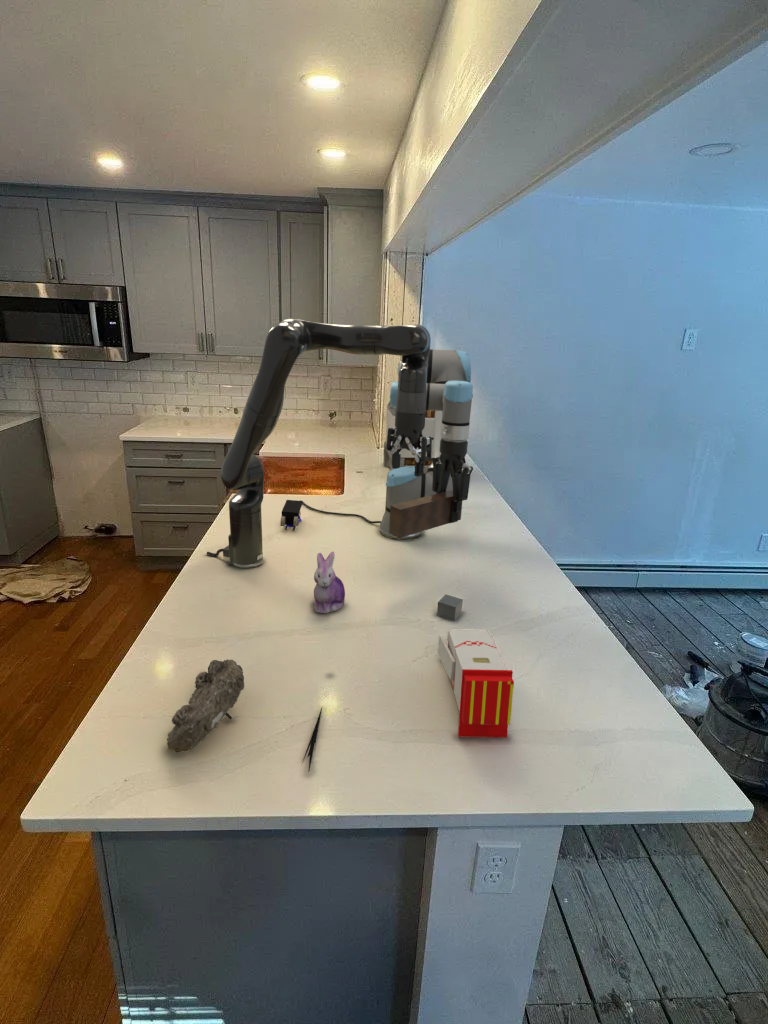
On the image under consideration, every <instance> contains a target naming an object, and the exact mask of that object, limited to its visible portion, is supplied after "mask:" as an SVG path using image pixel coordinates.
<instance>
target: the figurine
mask: <svg viewBox="0 0 768 1024" xmlns="http://www.w3.org/2000/svg"><path fill="white" fill-rule="evenodd" d="M335 554H336V553H335V552H334V551H331V552H330V553H329V554H328V555H327V556H326V558H325V557H324V555H323V554H322V553H321V552H318V553H317V555H316V563H317V565H316V566H317V568H316V569H315V571H314V575H313V580H314V582H315V585H314V588H313V598H314V601H313V606H314V612H316V613H322V614H329V613H332V612H336V611H338V610H340V609H341V608H342V607H344V604H345V598H346V589H345V585H344V583H343V581H342V580H341V578H340V577H339V576H336V572H335V569H334V568H333V564H334V561H335Z"/></svg>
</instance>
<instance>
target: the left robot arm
mask: <svg viewBox="0 0 768 1024" xmlns="http://www.w3.org/2000/svg"><path fill="white" fill-rule="evenodd" d="M431 339H432V338H431V334H430V332H429V330H428V329H427V327H426V326H423V325H421V324H405V325H384V324H333V323H332V324H331V323H324V322H323V323H321V322H315V321H309V320H303V319H299V318H290V317H289V318H285V319H282V320H281V321H278V322H277V323H276V324H275V325H273V326H272V327H271V328H270V329H269V330H268V332H267V334H266V338H265V341H264V346H263V351H262V356H261V360H260V364H259V369H258V372H257V374H256V377H255V379H254V382H253V384H252V386H251V389H250V391H249V394H248V397H247V400H246V403H245V405H244V408H243V412H242V414H241V415H242V416H241V419H240V421H239V424H238V426H237V430H236V432H235V434H234V438H233V440H232V443H231V444H230V447H229V448H228V451H227V453H226V455H225V457H224V459H223V462H222V464H221V469H220V478H221V479H220V480H221V482H222V484H223V486H224V487H225V488H226V489H227V490H231V491H237V492H236V493H235V494H234V495H233V496H231V498H230V499H229V501H228V512H229V513H228V514H229V516H228V517H229V532H230V533H229V534H228V536H227V537H228V538H227V539H228V545H227V546H225V547H223V548H220V549H218V550H216V552H215V553H213V552H210V551H207V552H206V555H208V556H211V557H218V556H219V555H220V553H222V557H225V558H229V566H234V567H235V568H239V569H251V568H256V567H259V566H260V565H262V564H263V562H264V552H263V551H264V549H263V548H264V547H263V523H262V522H263V521H262V503H263V501H264V491H265V489H264V488H265V487H264V486H265V472H264V471H265V470H264V466H263V462H262V461H261V460H260V458H259V457H258V456H257V455H255V452H256V451H257V450H258V449H259V447H260V446H261V445H263V443H264V442H265V441H266V440H267V439H268V438H269V437H270V435H271V434H272V433H273V432H274V430H275V429H276V426H277V424H278V422H279V419H280V416H281V413H282V411H283V407H284V400H285V388H286V383H287V380H288V378H289V376H290V374H291V372H292V369H293V367H294V365H295V364H296V362H297V360H299V359H298V358H300V357H301V356H302V355H303V354H304V353H305V352H310V351H316V350H317V351H318V350H332V351H336V352H337V351H338V352H342V353H346V354H351V355H359V356H383V355H389V356H400V357H401V359H402V364H401V368H400V370H399V375H398V374H397V379H398V380H397V382H398V391H397V397H396V412H395V428H389V429H388V435H387V446H386V449H387V450H389V451H390V452H391V454H392V468H394V469H397V468H399V467H400V457H401V454H399V453H400V452H401V451H402V449H407V450H409V451H411V454H412V455H414V457H415V460H416V462H415V466H414V467H415V474H414V475H415V476H416V477H419V476H422V474H423V473H425V472H424V469H425V466H424V462H425V461H429V460H431V451H432V438H431V437H423V435H422V430H423V429H424V427H425V415H426V384H427V365H428V360H429V353H430V349H431V341H432V340H431ZM391 442H392V445H391ZM417 448H418V450H416V449H417ZM426 452H427V456H426ZM418 454H419V455H420V457H419V455H418Z"/></svg>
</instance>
